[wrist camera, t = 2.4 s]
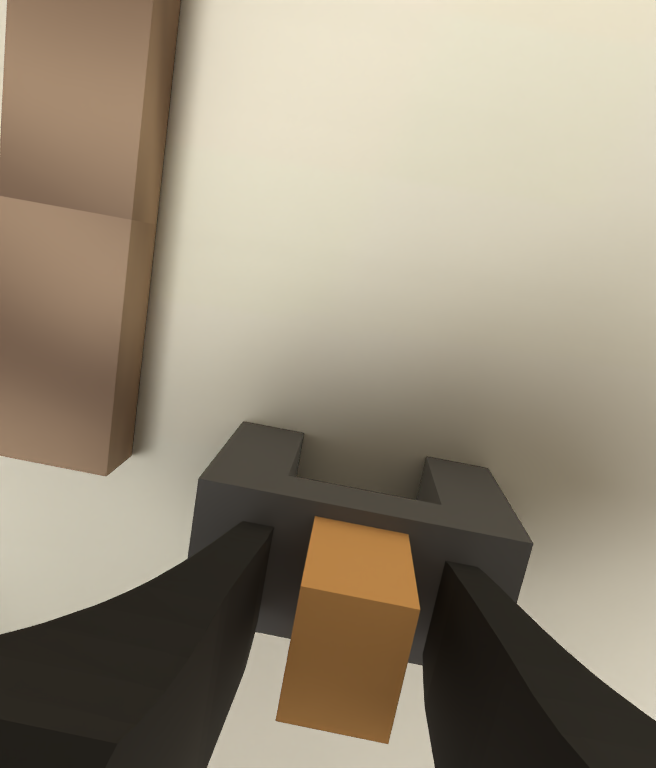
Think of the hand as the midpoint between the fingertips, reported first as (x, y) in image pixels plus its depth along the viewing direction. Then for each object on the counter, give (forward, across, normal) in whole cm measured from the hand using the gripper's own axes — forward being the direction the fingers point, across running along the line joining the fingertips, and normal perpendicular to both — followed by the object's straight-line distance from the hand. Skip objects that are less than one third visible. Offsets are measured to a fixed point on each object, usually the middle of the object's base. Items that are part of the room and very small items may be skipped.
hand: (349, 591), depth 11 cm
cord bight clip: (+4, 0, 0) cm, 4 cm away
